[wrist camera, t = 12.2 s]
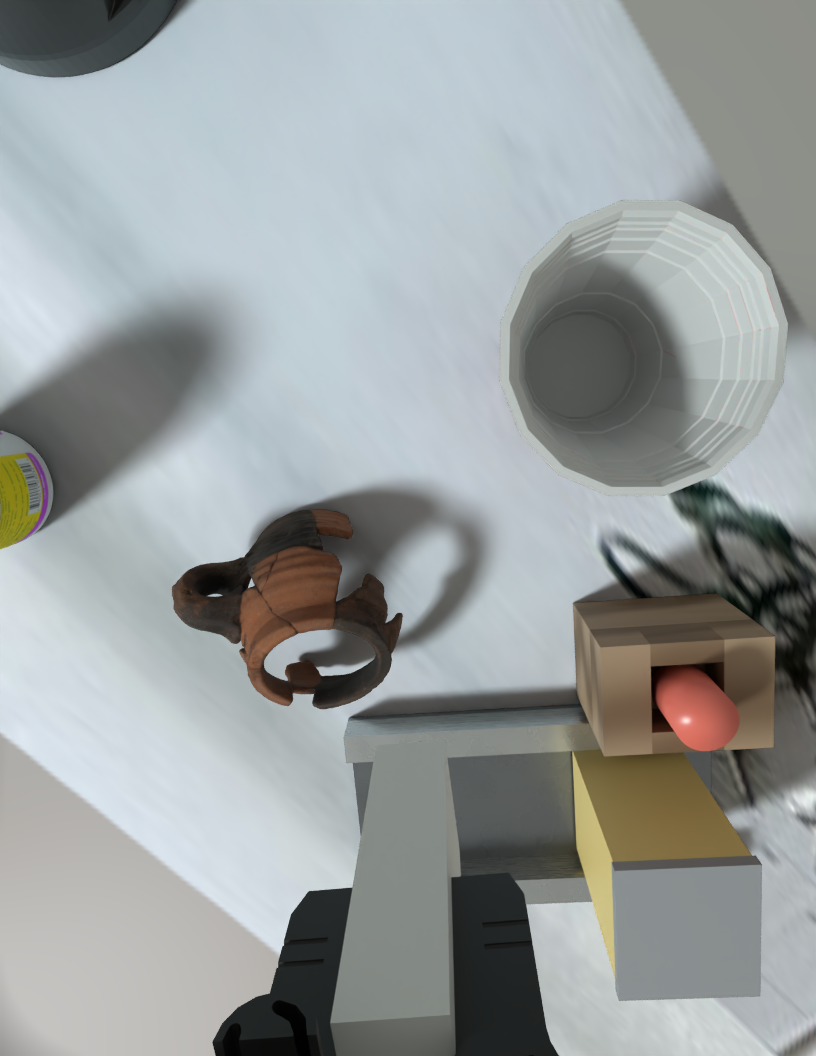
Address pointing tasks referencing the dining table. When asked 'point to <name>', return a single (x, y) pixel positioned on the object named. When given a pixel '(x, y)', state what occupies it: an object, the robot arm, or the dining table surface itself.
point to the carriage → (667, 879)
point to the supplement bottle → (22, 490)
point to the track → (503, 787)
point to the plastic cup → (643, 348)
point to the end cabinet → (669, 639)
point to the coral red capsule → (694, 706)
